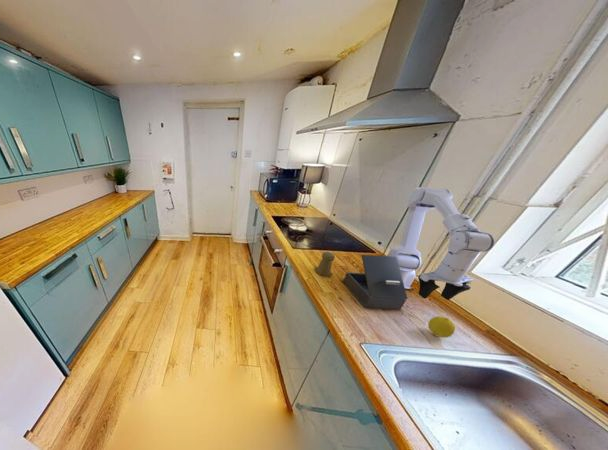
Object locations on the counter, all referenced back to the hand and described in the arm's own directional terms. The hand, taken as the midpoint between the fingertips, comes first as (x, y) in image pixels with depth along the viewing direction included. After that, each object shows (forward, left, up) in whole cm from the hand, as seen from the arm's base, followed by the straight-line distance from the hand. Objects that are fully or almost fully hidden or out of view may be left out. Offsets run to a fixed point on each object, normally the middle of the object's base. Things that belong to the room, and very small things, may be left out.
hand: (433, 297), depth 70 cm
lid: (+11, -9, +1) cm, 14 cm away
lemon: (+1, +7, -11) cm, 13 cm away
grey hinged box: (+11, -11, -10) cm, 19 cm away
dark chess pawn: (+24, -25, -11) cm, 36 cm away
